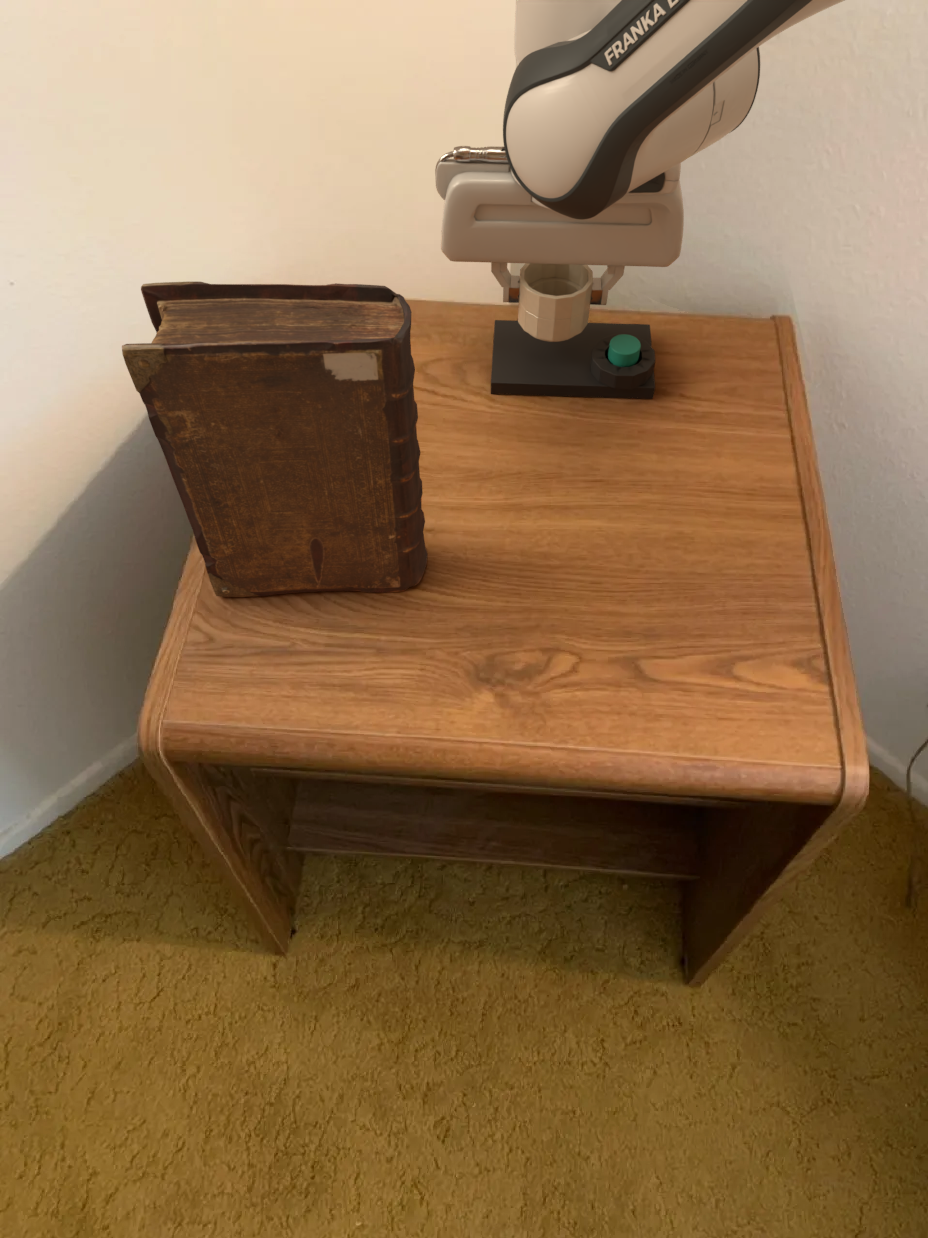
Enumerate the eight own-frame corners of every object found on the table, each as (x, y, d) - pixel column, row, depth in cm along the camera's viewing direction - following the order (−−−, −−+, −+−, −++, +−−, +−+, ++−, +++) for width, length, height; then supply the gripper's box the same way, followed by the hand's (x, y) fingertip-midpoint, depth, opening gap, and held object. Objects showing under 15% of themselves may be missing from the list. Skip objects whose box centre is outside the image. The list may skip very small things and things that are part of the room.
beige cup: (586, 300, 87) (592, 253, 83) (587, 346, 83) (593, 299, 79) (518, 299, 87) (520, 251, 83) (516, 344, 84) (519, 297, 80)
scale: (647, 335, 90) (652, 310, 88) (653, 401, 85) (658, 376, 83) (494, 331, 91) (494, 305, 88) (490, 396, 86) (490, 371, 83)
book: (432, 544, 76) (415, 281, 55) (422, 615, 72) (400, 360, 51) (232, 532, 77) (142, 269, 56) (211, 601, 73) (107, 346, 52)
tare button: (637, 347, 85) (640, 334, 84) (639, 368, 84) (641, 354, 82) (607, 346, 85) (609, 333, 84) (608, 367, 84) (610, 353, 83)
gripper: (431, 168, 71) (437, 318, 82) (701, 173, 70) (669, 325, 81) (437, 124, 74) (442, 275, 86) (694, 129, 73) (664, 280, 85)
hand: (554, 299), depth 83 cm, fingers closed on beige cup, 6 cm apart
